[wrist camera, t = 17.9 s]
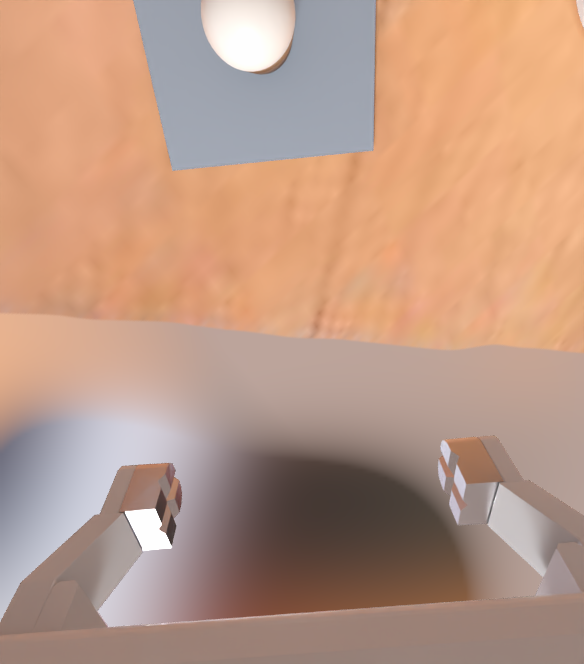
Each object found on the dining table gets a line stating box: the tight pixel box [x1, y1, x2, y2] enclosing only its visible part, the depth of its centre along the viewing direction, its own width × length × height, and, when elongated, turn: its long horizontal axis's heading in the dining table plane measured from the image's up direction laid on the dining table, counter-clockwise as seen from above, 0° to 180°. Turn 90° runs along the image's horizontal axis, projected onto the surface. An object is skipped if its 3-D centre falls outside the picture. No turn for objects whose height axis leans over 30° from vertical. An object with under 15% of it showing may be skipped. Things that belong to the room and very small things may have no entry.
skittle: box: [201, 0, 295, 75], centre depth 25 cm, size 5×5×14 cm
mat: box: [133, 0, 376, 171], centre depth 31 cm, size 18×22×1 cm
